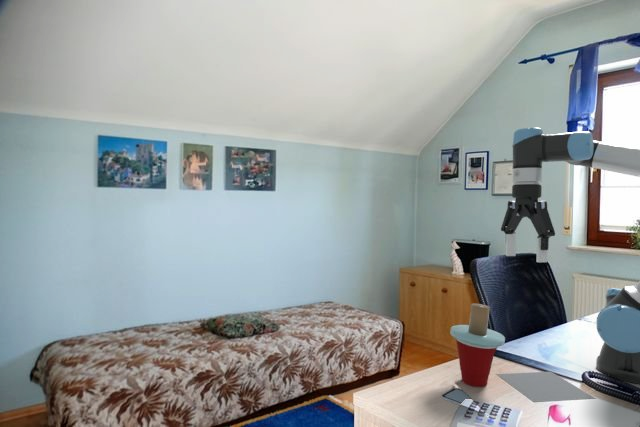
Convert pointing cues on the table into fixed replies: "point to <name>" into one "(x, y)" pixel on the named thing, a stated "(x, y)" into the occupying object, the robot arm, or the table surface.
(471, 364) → the plastic cup
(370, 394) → the table surface
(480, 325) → the lid
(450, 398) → the smartphone
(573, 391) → the mat
